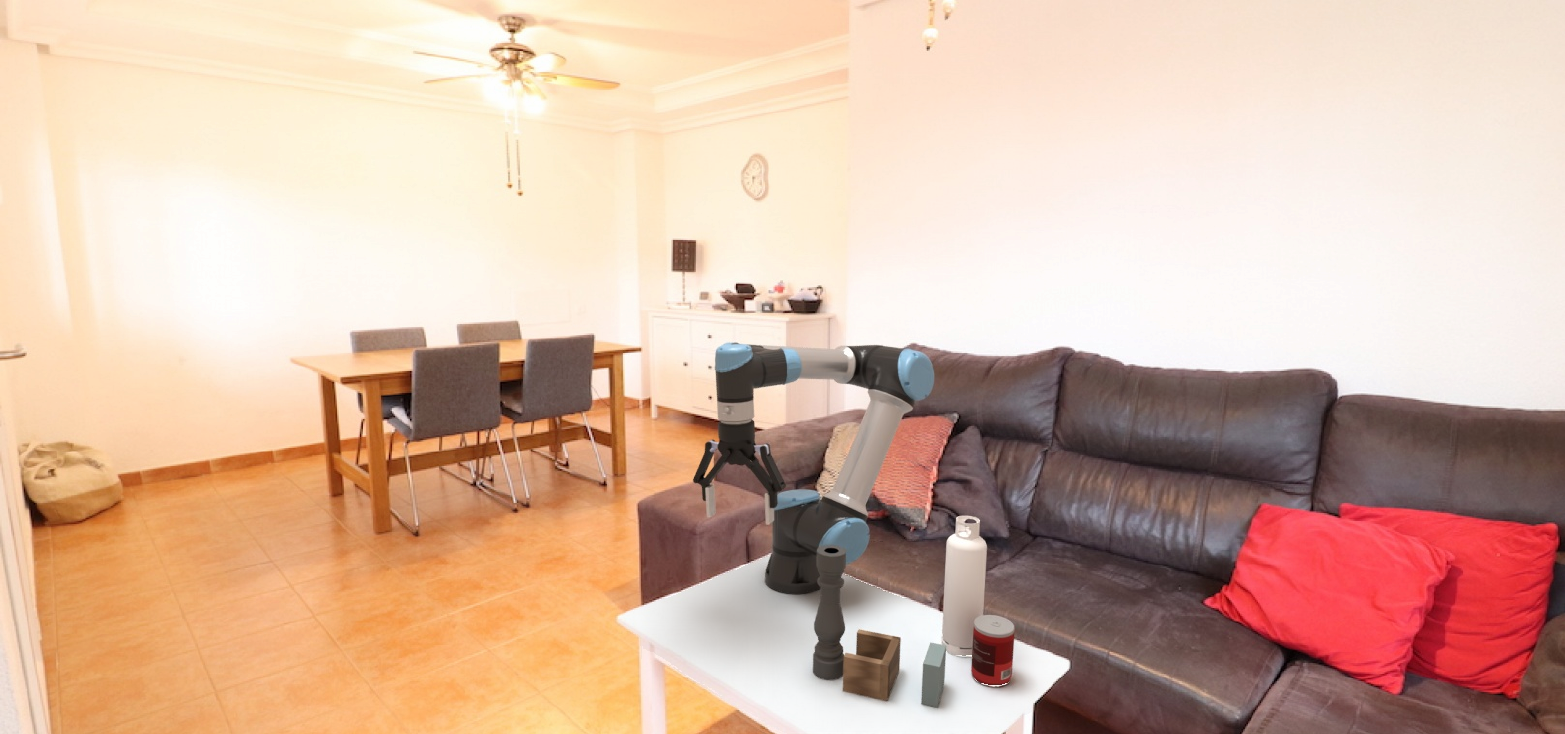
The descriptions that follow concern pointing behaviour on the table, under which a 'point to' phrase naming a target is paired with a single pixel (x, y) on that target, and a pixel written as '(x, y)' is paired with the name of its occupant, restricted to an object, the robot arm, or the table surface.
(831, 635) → the candle holder
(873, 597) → the table surface
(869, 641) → the cradle
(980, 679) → the canned food
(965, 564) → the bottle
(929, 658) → the block
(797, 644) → the table surface
